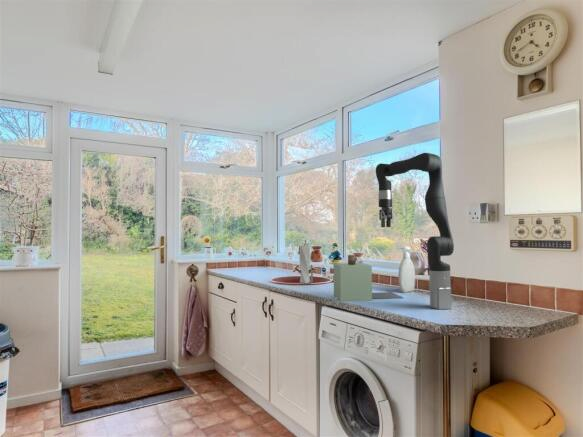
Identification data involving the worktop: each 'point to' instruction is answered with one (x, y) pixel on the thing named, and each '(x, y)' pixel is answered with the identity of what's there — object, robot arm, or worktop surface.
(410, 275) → the soap bottle
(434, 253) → the robot arm
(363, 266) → the cover
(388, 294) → the mat
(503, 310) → the worktop surface
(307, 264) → the white pillar candle
